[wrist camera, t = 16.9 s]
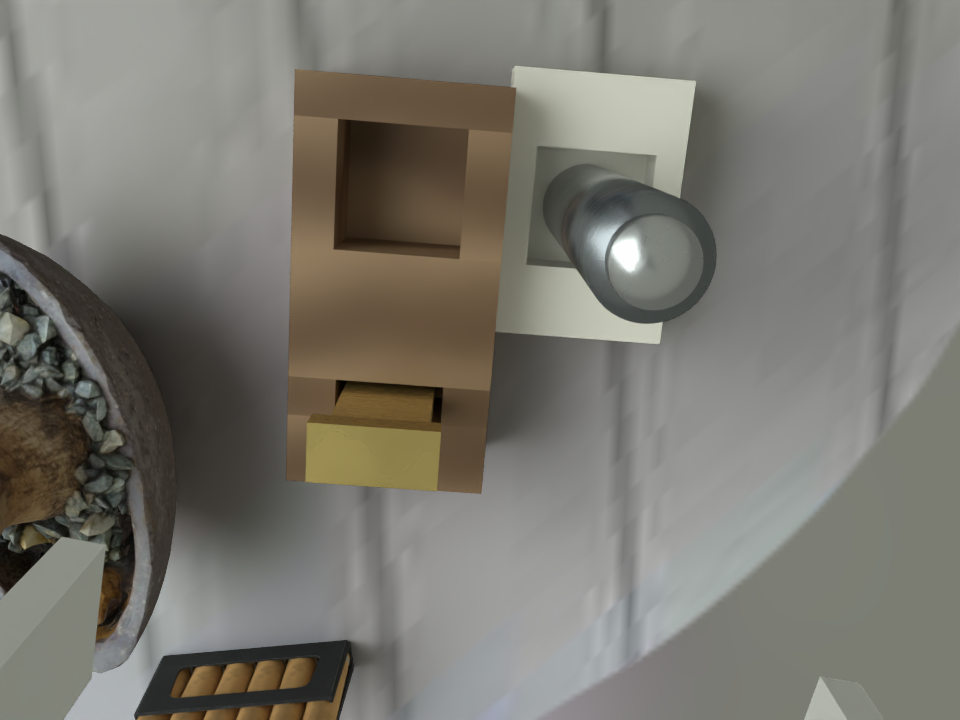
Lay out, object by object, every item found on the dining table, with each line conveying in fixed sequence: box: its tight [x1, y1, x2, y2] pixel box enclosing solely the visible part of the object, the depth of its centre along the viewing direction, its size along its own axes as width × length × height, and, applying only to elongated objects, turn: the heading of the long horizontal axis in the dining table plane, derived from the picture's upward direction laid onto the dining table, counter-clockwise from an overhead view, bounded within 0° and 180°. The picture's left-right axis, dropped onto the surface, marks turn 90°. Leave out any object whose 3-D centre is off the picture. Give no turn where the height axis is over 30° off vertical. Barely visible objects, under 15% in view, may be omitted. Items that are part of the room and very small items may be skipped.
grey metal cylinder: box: [543, 164, 716, 324], centre depth 34 cm, size 4×4×17 cm
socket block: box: [286, 69, 516, 494], centre depth 41 cm, size 18×9×6 cm, turn 175°
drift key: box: [305, 380, 442, 491], centre depth 38 cm, size 2×5×10 cm, turn 85°
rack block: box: [495, 66, 696, 344], centre depth 42 cm, size 12×8×3 cm, turn 176°
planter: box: [0, 234, 176, 673], centre depth 36 cm, size 15×17×20 cm
